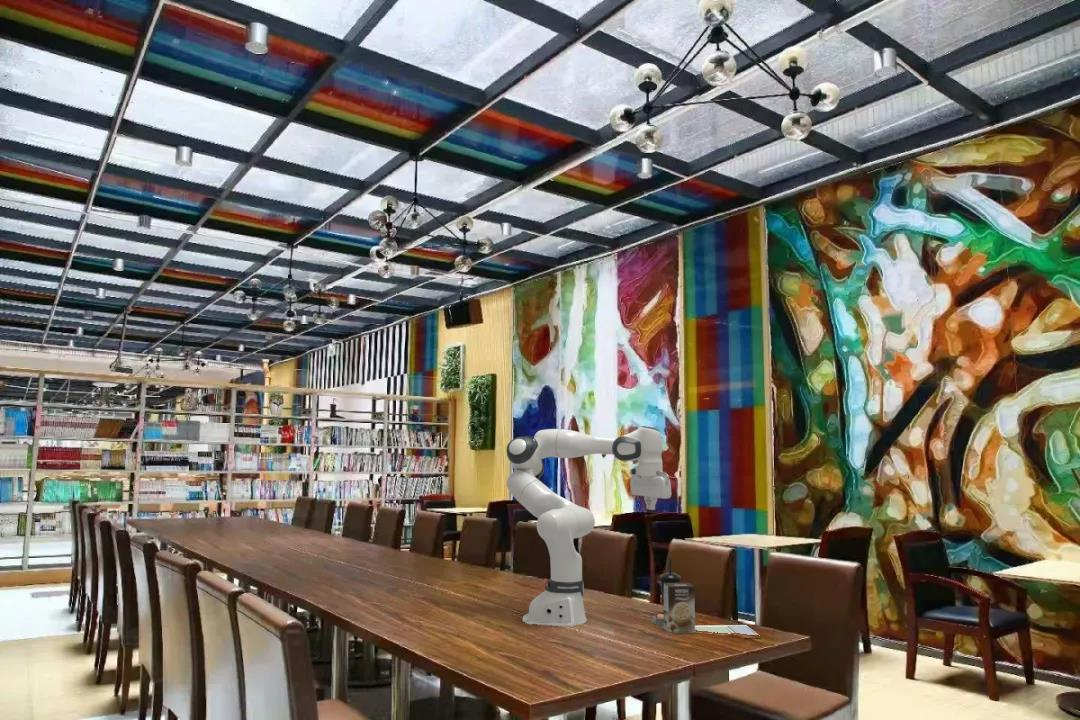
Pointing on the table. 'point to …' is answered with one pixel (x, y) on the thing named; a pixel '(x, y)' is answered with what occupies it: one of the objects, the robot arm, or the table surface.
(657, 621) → the button housing
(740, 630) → the picture board
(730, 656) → the table surface
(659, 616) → the button
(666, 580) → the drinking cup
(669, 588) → the coffee box
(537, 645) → the table surface
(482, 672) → the table surface
